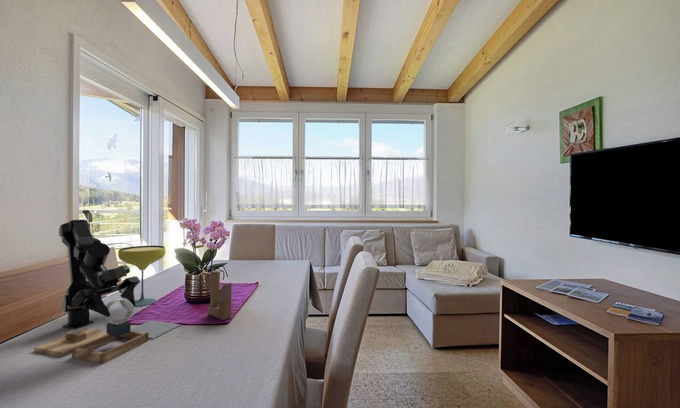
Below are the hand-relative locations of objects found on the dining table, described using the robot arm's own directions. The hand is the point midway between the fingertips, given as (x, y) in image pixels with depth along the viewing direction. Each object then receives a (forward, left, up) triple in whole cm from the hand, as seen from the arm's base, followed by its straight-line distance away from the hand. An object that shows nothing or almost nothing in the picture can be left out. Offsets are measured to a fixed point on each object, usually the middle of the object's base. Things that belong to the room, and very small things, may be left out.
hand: (122, 311), depth 97 cm
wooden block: (+14, +30, -11) cm, 35 cm away
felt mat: (-1, +12, -11) cm, 17 cm away
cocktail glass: (-30, +34, -11) cm, 47 cm away
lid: (-16, -3, -11) cm, 20 cm away
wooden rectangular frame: (-1, -2, -11) cm, 11 cm away
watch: (-1, 0, -7) cm, 7 cm away
